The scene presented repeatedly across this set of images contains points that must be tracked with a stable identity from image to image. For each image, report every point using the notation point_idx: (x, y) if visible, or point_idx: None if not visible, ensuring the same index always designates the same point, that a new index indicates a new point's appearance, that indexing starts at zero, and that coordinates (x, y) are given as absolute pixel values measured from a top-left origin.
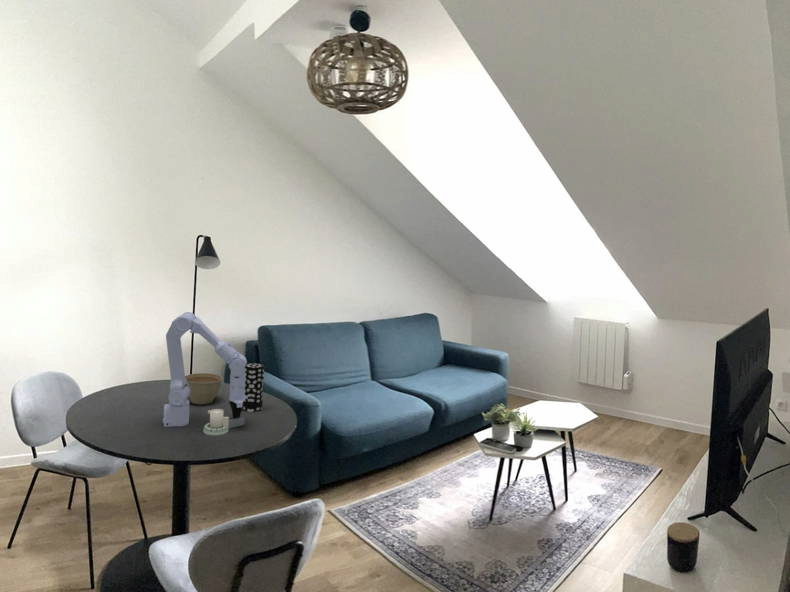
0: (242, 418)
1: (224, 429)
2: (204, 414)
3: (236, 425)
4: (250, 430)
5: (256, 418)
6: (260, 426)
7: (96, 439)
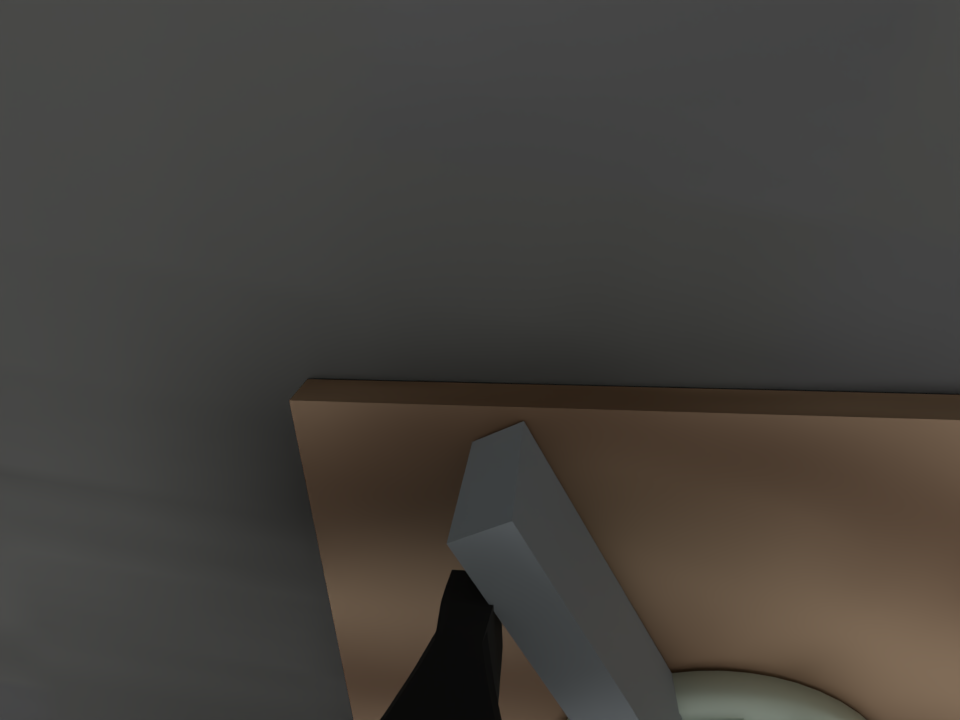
0: (540, 554)
1: None
2: (7, 708)
3: (600, 567)
4: (719, 318)
5: (37, 89)
6: (537, 73)
7: None
